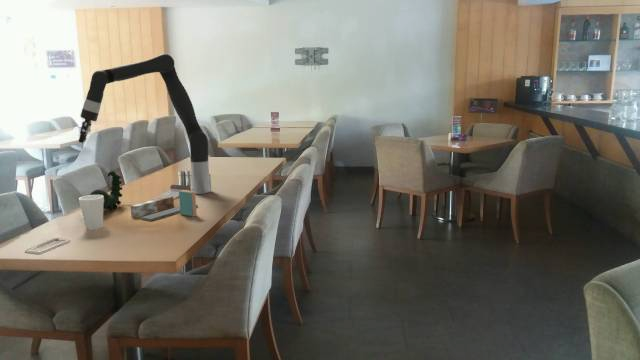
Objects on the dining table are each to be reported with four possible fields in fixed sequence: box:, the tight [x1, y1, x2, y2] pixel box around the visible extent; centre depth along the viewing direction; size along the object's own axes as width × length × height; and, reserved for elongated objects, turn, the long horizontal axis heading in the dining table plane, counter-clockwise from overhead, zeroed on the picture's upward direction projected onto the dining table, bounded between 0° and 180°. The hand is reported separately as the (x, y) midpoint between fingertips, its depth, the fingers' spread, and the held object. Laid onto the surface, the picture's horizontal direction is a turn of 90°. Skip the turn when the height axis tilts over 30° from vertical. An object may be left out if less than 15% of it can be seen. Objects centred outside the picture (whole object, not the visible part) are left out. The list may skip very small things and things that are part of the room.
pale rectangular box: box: [130, 195, 175, 218], centre depth 238 cm, size 22×3×5 cm, turn 148°
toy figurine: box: [89, 170, 123, 211], centre depth 240 cm, size 9×19×25 cm
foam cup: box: [78, 194, 104, 231], centre depth 213 cm, size 10×9×13 cm
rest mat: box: [140, 204, 199, 222], centre depth 236 cm, size 28×6×1 cm, turn 148°
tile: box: [178, 189, 198, 217], centre depth 231 cm, size 2×8×11 cm, turn 58°
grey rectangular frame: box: [24, 237, 71, 255], centre depth 191 cm, size 7×1×15 cm
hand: (81, 141), depth 253 cm, fingers open, 8 cm apart
